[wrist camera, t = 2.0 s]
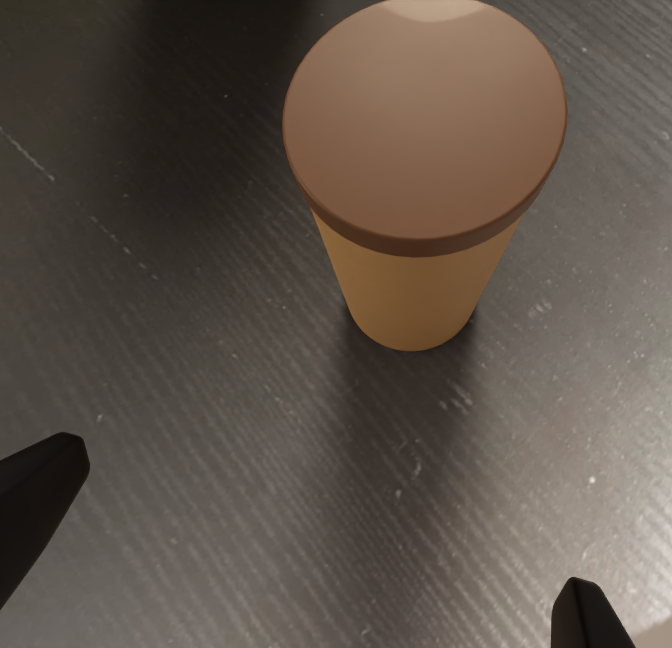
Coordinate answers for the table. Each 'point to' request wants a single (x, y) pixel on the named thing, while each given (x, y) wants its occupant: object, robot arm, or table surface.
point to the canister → (422, 156)
